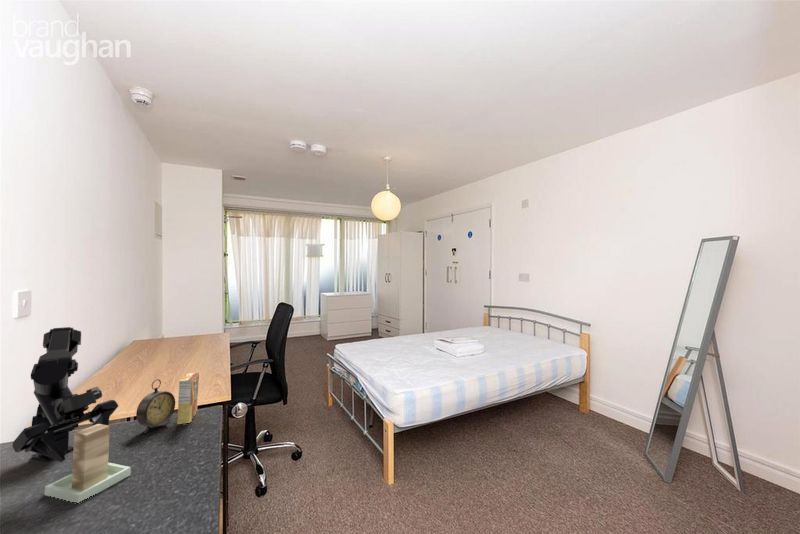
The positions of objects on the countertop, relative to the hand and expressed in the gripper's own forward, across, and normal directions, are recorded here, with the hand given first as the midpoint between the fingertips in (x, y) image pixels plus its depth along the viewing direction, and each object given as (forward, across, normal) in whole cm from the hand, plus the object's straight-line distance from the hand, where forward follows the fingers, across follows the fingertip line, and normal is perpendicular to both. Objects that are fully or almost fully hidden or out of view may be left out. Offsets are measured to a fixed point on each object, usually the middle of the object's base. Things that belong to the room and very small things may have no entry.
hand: (86, 450), depth 79 cm
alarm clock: (-2, +27, +14) cm, 31 cm away
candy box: (+1, +35, +11) cm, 36 cm away
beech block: (+7, 0, +4) cm, 8 cm away
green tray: (+7, 0, +4) cm, 8 cm away
